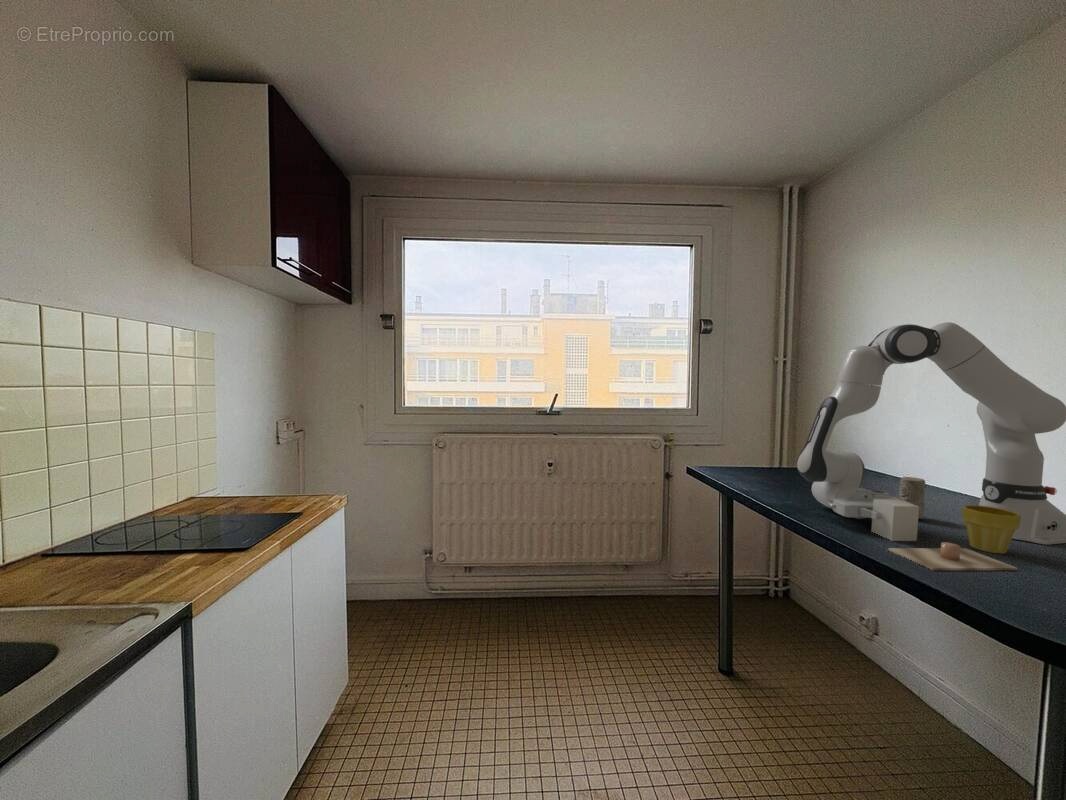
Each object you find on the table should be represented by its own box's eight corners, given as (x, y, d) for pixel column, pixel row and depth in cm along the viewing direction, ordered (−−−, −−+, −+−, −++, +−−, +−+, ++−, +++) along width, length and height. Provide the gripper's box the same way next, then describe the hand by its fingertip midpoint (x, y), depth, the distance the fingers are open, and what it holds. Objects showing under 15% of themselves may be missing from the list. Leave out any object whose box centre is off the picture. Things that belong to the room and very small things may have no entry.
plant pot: (993, 543, 125) (995, 505, 124) (1029, 558, 114) (1033, 517, 114) (949, 540, 126) (952, 503, 125) (982, 555, 115) (985, 514, 115)
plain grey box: (895, 532, 131) (897, 499, 131) (916, 540, 125) (919, 506, 124) (871, 532, 131) (873, 499, 130) (891, 540, 124) (894, 506, 124)
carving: (922, 516, 148) (925, 477, 147) (925, 522, 141) (928, 481, 141) (896, 513, 151) (898, 474, 150) (898, 518, 145) (901, 478, 144)
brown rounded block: (949, 554, 114) (950, 542, 114) (963, 560, 110) (964, 547, 110) (936, 554, 113) (937, 542, 113) (949, 560, 110) (950, 547, 110)
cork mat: (965, 550, 119) (965, 548, 119) (1017, 570, 107) (1017, 568, 107) (887, 550, 117) (887, 548, 117) (932, 570, 105) (932, 568, 105)
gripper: (823, 491, 140) (858, 504, 126) (890, 492, 142) (932, 504, 128) (822, 513, 140) (857, 528, 127) (889, 513, 142) (931, 528, 128)
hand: (895, 516), depth 127 cm, fingers open, 8 cm apart
